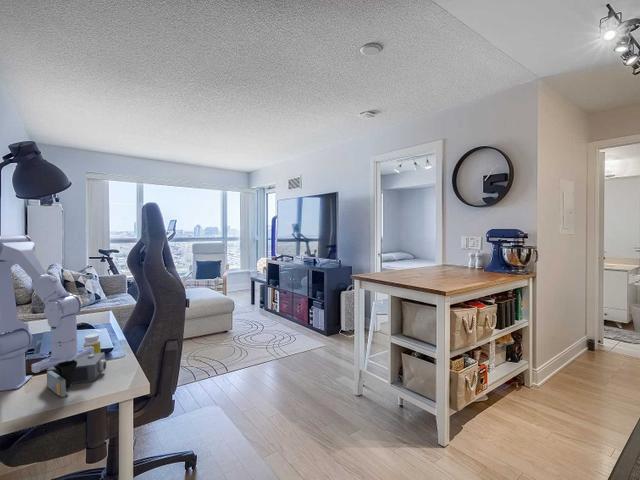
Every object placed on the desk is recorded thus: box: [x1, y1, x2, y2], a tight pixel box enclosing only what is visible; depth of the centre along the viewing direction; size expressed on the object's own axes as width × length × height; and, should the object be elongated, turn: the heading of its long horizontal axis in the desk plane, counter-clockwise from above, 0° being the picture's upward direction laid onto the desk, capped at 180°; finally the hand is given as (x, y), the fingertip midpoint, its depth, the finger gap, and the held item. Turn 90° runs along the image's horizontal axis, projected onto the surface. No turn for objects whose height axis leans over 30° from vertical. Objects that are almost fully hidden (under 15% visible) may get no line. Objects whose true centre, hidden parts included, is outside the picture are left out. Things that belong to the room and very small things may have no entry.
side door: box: [46, 371, 67, 398], centre depth 92 cm, size 10×2×4 cm, turn 56°
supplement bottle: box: [83, 333, 102, 353], centre depth 116 cm, size 5×5×8 cm
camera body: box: [46, 351, 107, 388], centre depth 103 cm, size 13×10×6 cm
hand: (65, 387), depth 93 cm, fingers closed
